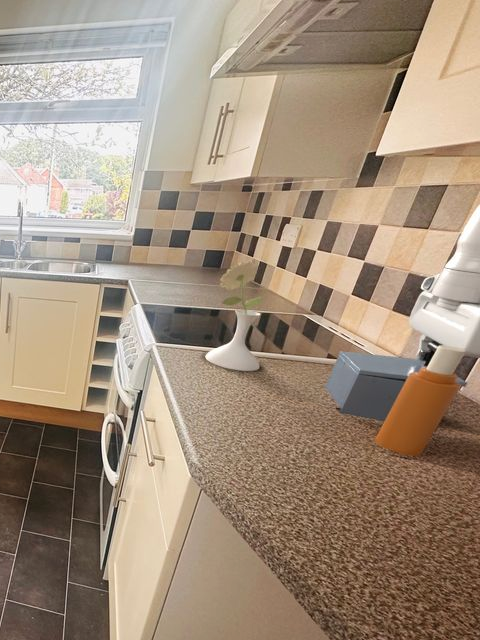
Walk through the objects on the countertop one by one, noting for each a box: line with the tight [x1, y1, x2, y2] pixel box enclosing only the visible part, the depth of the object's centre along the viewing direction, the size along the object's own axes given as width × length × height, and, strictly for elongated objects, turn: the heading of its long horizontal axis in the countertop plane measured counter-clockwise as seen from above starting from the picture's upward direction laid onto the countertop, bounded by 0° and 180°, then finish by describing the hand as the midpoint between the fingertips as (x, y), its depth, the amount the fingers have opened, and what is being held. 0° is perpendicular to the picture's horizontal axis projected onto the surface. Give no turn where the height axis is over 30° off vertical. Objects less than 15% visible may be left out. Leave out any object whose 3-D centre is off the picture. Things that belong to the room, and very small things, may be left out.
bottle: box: [374, 345, 466, 461], centre depth 66 cm, size 6×6×18 cm
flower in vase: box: [205, 260, 264, 372], centre depth 96 cm, size 13×11×25 cm
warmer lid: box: [338, 341, 468, 388], centre depth 77 cm, size 14×12×5 cm
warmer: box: [324, 354, 406, 422], centre depth 80 cm, size 14×12×9 cm
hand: (430, 365), depth 76 cm, fingers closed on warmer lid, 5 cm apart
